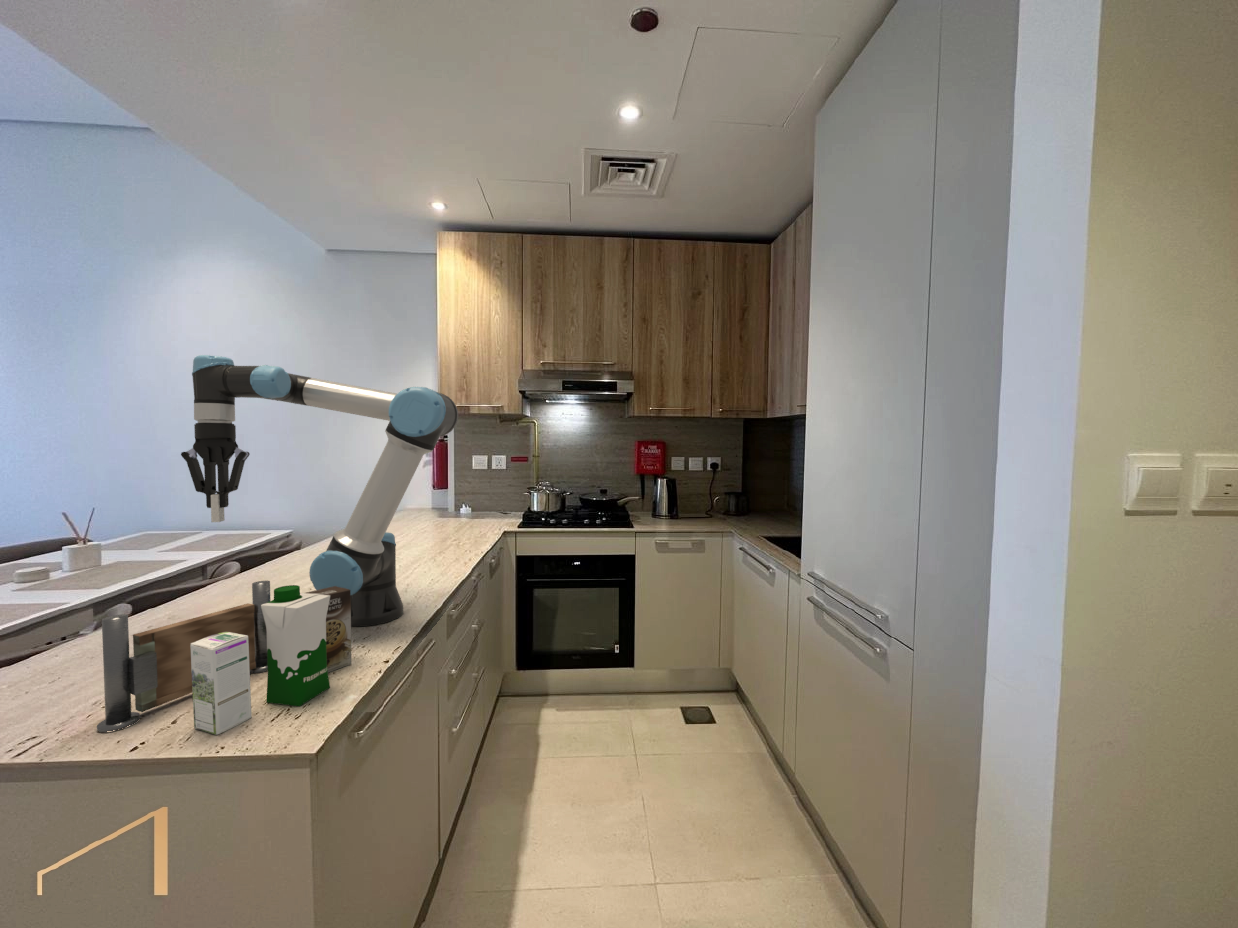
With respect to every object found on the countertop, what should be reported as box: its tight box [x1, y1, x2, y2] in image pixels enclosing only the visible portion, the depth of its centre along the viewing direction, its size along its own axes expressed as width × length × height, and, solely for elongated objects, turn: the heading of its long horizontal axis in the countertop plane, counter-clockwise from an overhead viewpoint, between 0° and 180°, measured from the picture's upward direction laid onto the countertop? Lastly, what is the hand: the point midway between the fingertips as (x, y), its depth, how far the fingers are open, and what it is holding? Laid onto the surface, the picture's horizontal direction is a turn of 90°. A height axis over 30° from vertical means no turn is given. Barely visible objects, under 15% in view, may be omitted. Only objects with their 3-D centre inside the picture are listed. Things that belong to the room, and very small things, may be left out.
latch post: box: [96, 613, 158, 732], centre depth 81 cm, size 6×5×18 cm
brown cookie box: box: [305, 586, 352, 673], centre depth 101 cm, size 9×6×16 cm
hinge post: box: [250, 580, 271, 674], centre depth 101 cm, size 5×5×18 cm
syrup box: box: [190, 632, 253, 736], centre depth 81 cm, size 6×6×14 cm
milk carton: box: [261, 584, 331, 707], centre depth 90 cm, size 9×9×20 cm
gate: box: [132, 603, 256, 713], centre depth 91 cm, size 18×2×13 cm, turn 157°
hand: (218, 521), depth 116 cm, fingers closed
